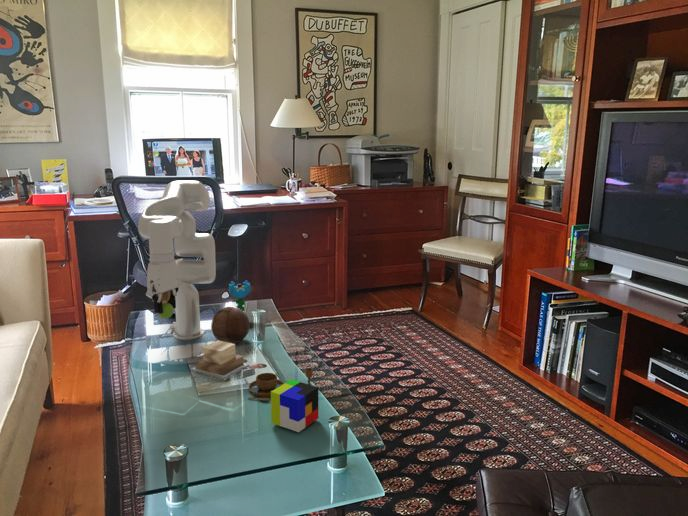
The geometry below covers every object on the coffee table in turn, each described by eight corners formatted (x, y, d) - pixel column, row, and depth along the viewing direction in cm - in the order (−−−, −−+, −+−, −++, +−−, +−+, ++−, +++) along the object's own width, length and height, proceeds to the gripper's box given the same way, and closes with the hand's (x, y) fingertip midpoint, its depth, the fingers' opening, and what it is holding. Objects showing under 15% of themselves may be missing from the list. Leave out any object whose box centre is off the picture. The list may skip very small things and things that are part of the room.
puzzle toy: (298, 432, 166) (298, 400, 164) (271, 422, 172) (270, 391, 169) (318, 418, 175) (318, 387, 173) (291, 409, 180) (291, 379, 178)
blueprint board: (189, 371, 207) (189, 368, 207) (215, 357, 219) (215, 355, 219) (225, 380, 200) (225, 377, 200) (249, 366, 212) (249, 363, 212)
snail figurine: (179, 315, 198) (176, 281, 195) (167, 321, 192) (164, 287, 189) (165, 313, 199) (162, 280, 196) (154, 320, 193) (150, 285, 190)
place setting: (260, 377, 204) (259, 361, 203) (314, 383, 199) (314, 367, 198) (239, 399, 187) (239, 382, 186) (299, 407, 183) (298, 389, 181)
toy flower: (251, 323, 257) (250, 284, 253) (231, 325, 255) (229, 285, 251) (250, 317, 266) (249, 279, 262) (230, 318, 264) (228, 280, 260)
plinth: (195, 369, 207) (194, 348, 205) (217, 357, 217) (216, 337, 215) (222, 376, 201) (221, 354, 200) (243, 363, 212) (243, 343, 210)
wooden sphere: (253, 337, 241) (253, 302, 238) (244, 350, 226) (243, 314, 223) (218, 335, 242) (217, 301, 239) (206, 349, 228) (205, 312, 224)
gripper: (172, 251, 199) (175, 302, 203) (133, 261, 185) (137, 315, 189) (189, 253, 196) (191, 305, 200) (150, 264, 181) (154, 319, 185)
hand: (165, 309), depth 194 cm, fingers closed on snail figurine, 5 cm apart
